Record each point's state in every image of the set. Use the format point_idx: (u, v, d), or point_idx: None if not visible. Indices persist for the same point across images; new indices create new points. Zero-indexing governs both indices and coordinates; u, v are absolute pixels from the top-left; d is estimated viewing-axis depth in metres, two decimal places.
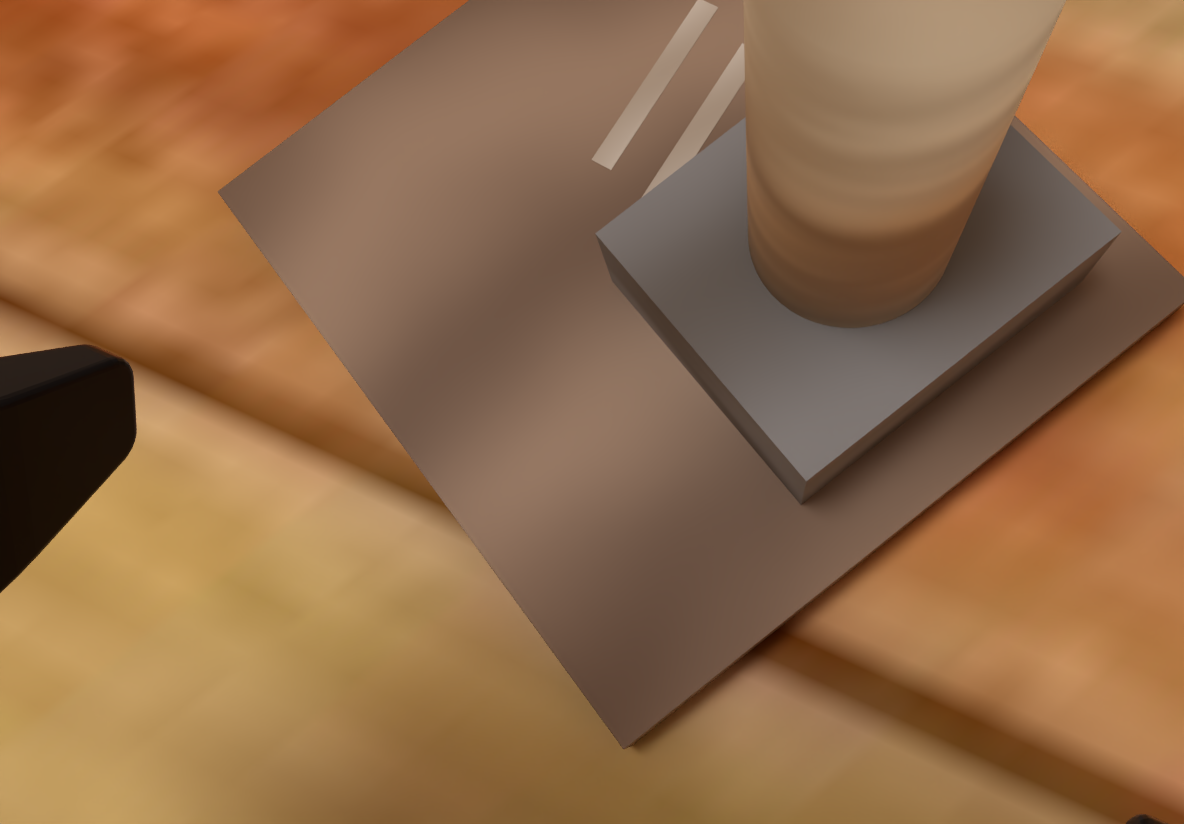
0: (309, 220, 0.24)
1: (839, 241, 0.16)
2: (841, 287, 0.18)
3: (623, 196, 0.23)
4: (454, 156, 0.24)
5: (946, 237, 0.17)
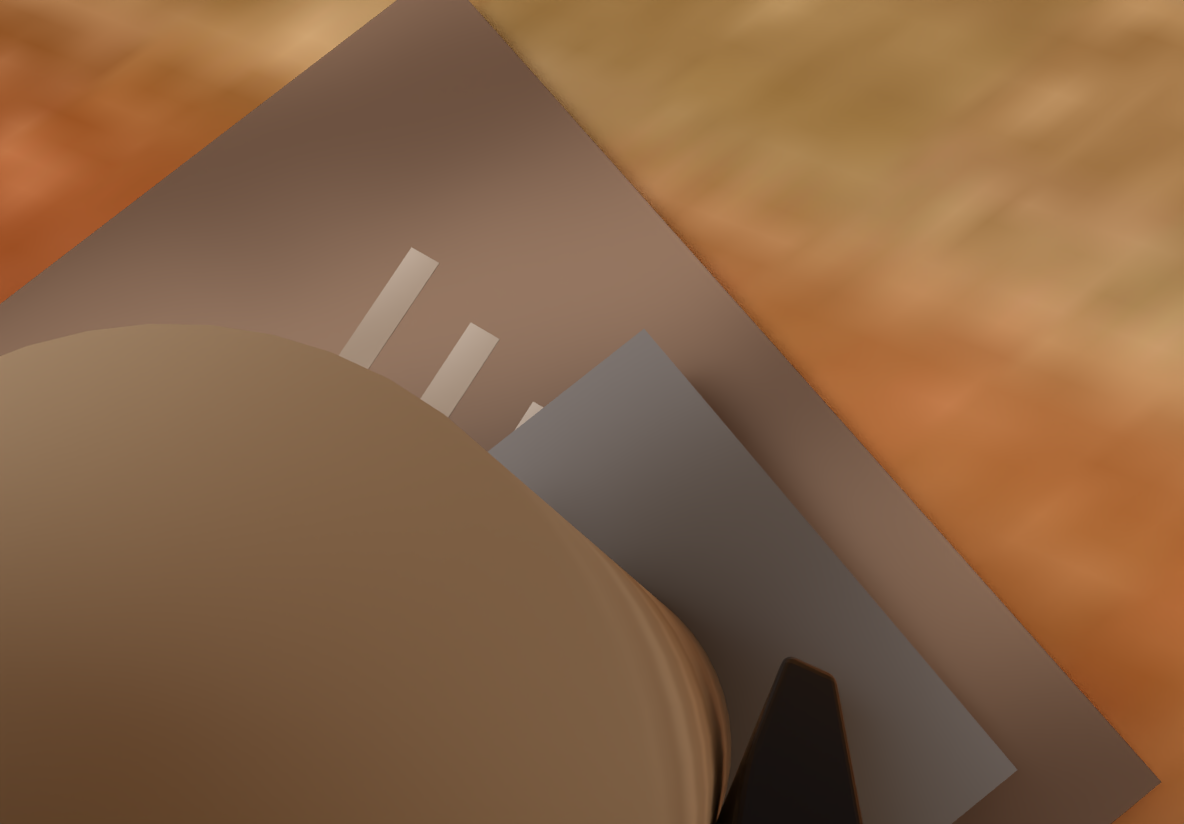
0: None
1: None
2: None
3: None
4: None
5: None
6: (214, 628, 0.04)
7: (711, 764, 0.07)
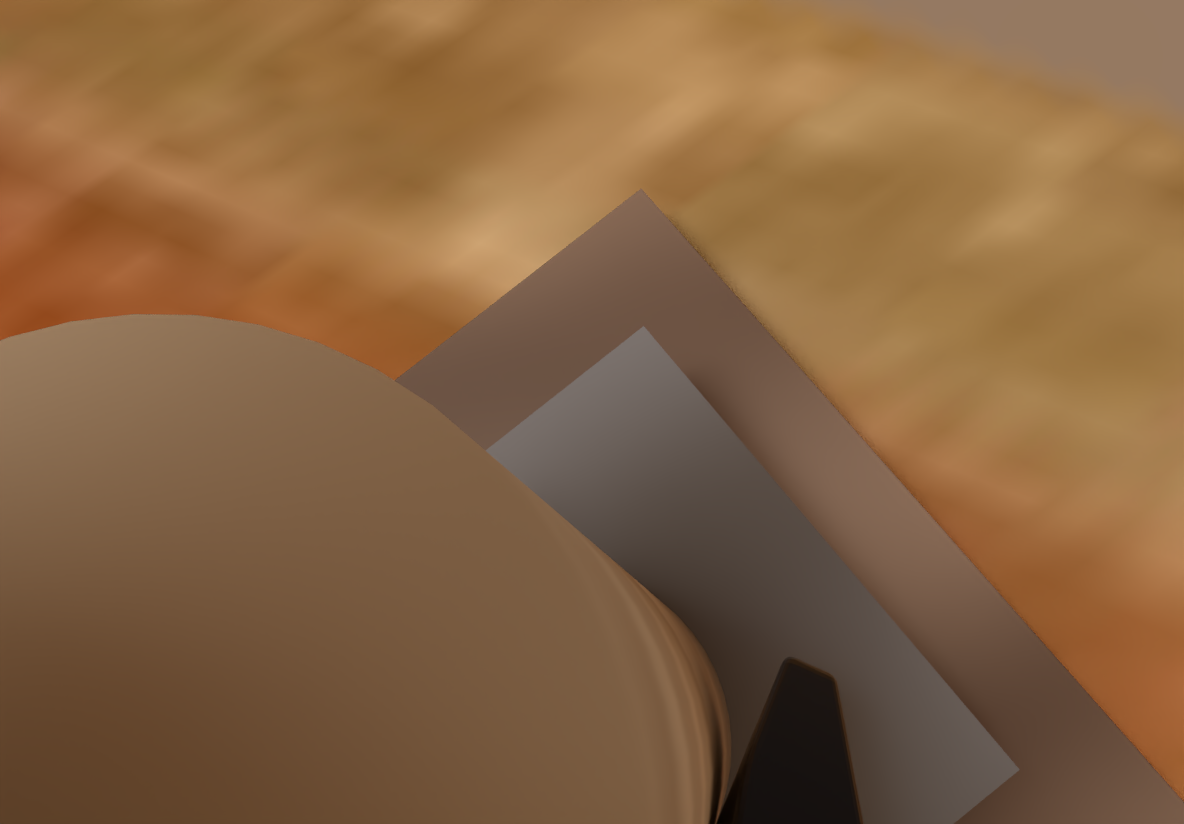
0: None
1: None
2: None
3: None
4: None
5: None
6: (198, 625, 0.04)
7: (709, 763, 0.07)
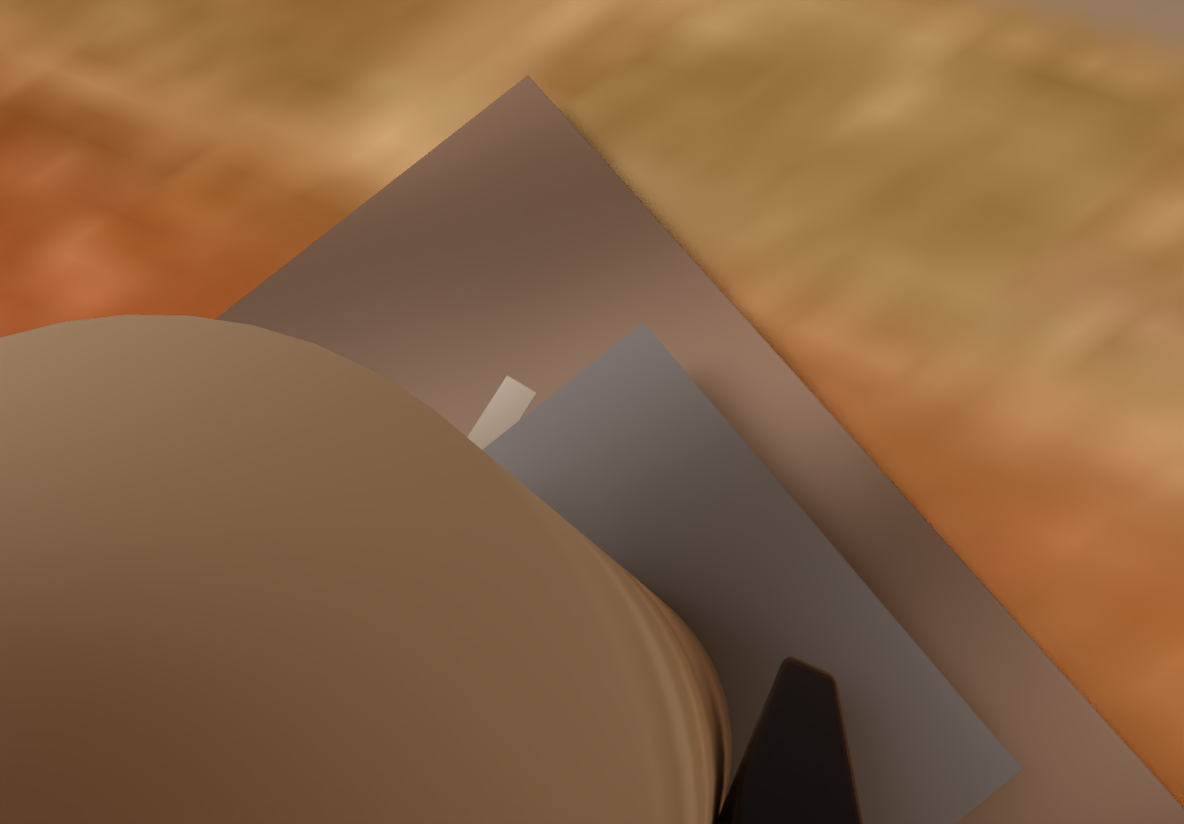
0: None
1: None
2: None
3: None
4: None
5: None
6: (191, 634, 0.03)
7: (711, 766, 0.07)
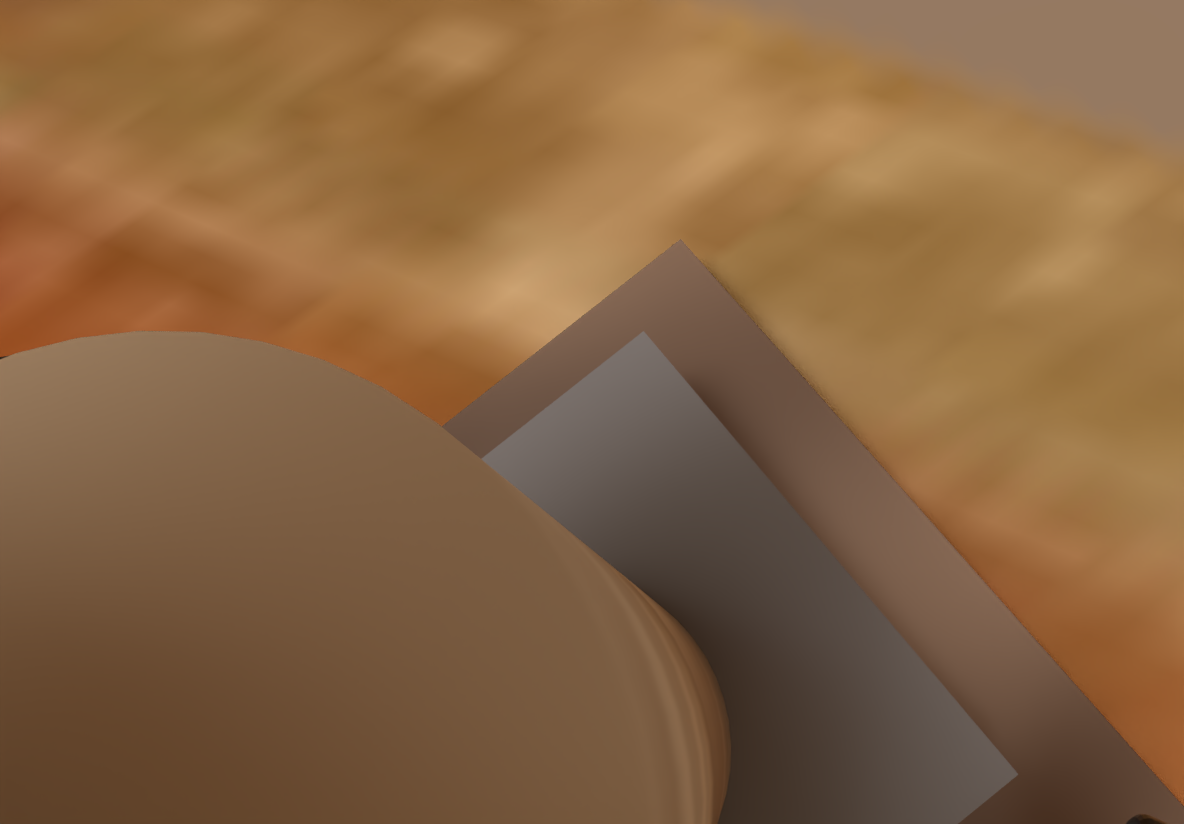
0: None
1: None
2: None
3: None
4: None
5: None
6: (204, 639, 0.04)
7: (709, 771, 0.07)
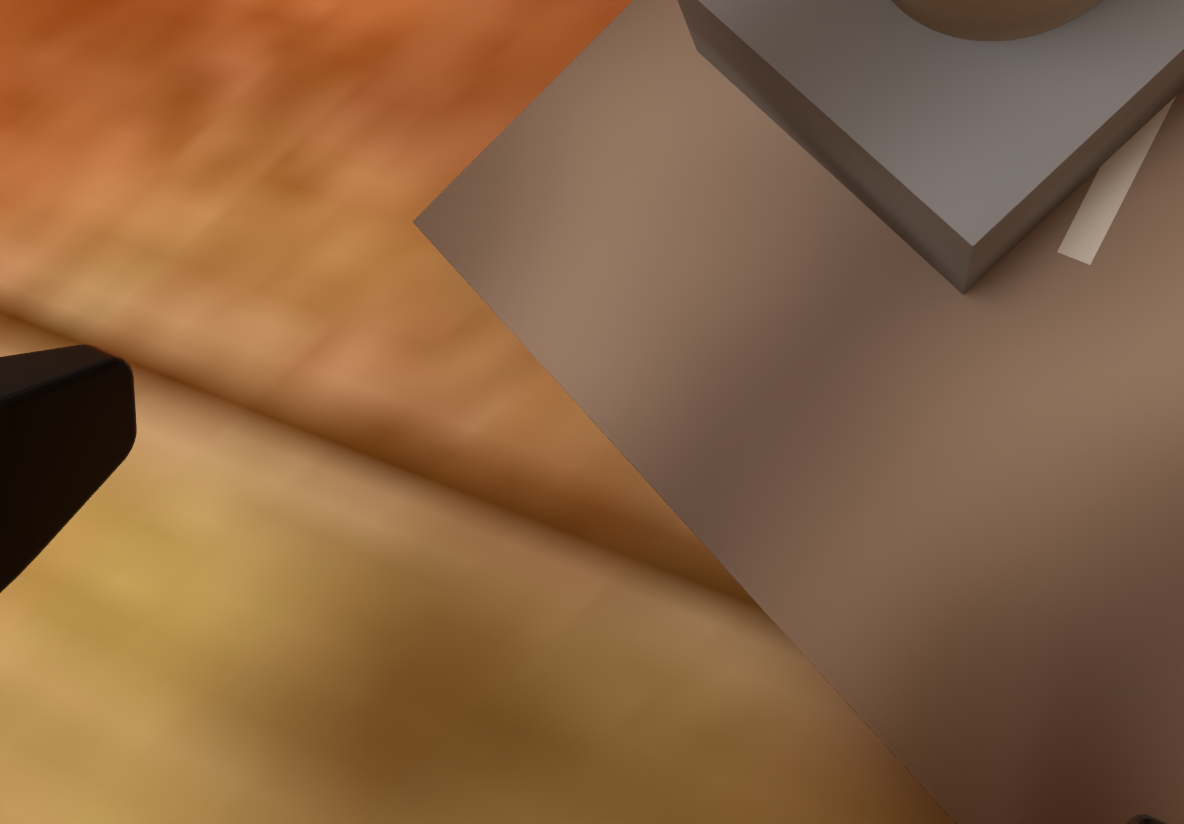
0: (535, 247, 0.19)
1: None
2: None
3: None
4: (717, 141, 0.18)
5: None
6: None
7: None
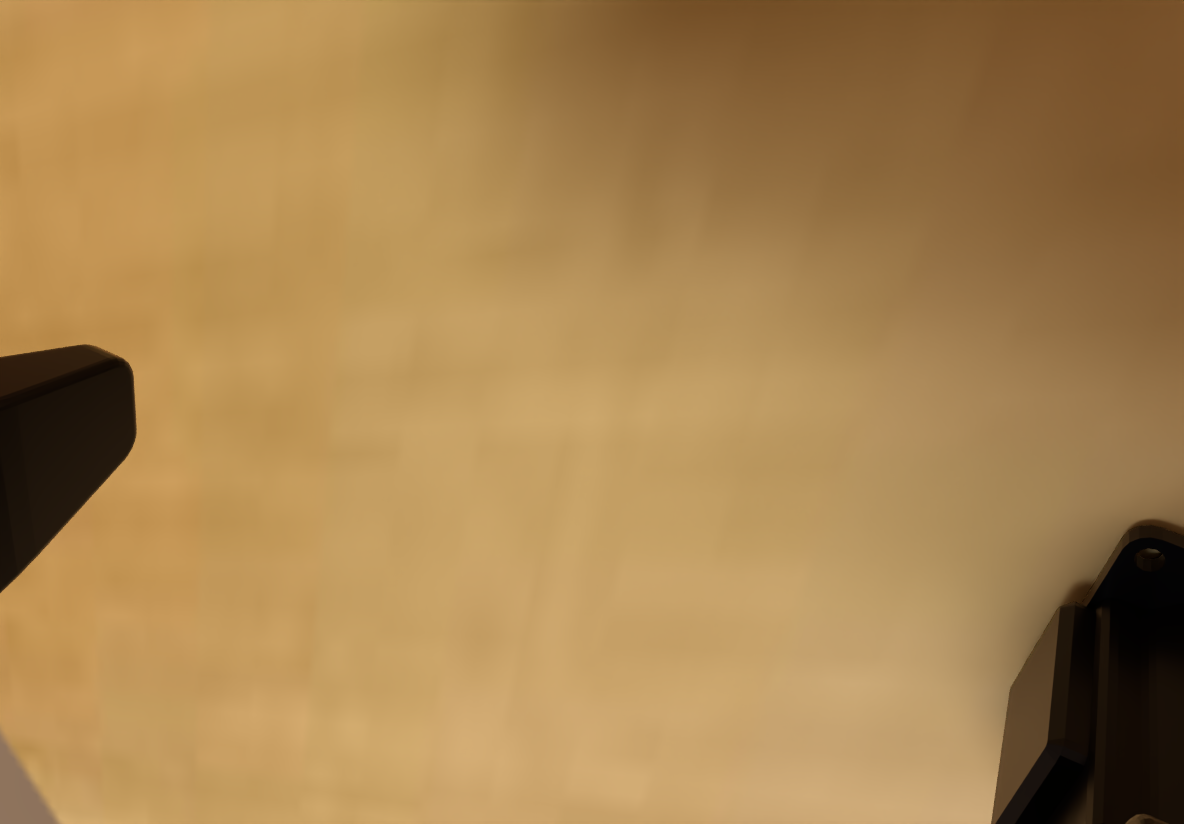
0: None
1: None
2: None
3: None
4: None
5: None
6: None
7: None
